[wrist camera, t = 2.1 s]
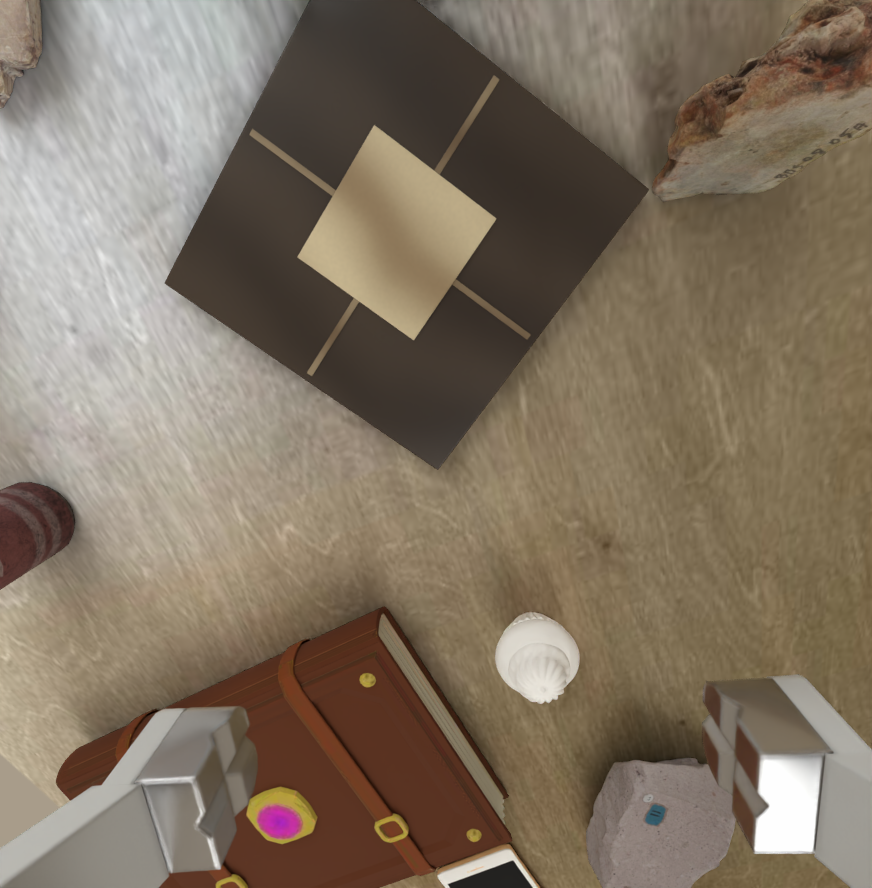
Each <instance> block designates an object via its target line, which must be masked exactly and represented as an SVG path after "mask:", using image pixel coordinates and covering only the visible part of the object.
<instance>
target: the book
mask: <svg viewBox="0 0 872 888" xmlns="http://www.w3.org/2000/svg"><path fill="white" fill-rule="evenodd" d="M228 706H241V707H243V708H245V709H246V711H247V715H248V718H249V722H250V725H249V727H248V730H247V732H246V734H245V736H246V737H247V738H249V739H250V740H251V741H252V742H253V743H254V744H255V747H256V751H257V757H258V772H257V777H256V783H255V788H254V791H253V793H252V796H251V798H250V801H249V803H248V805H247V806H246V807H245V808H244V809H243V810H241V811H240V812H239V813H238V814H237V815H236V816H235V817H234V818H235V822H236V826H237V832H236V834H235V836H234V839H233V841H232V843H231V846H230V848H229V850H228V853H227V855H226V857H225V860H224V862H223V864H222V866H221V869H220V870H207V871H191V872H176V873H169V877H168V878H167V879H166V880H165V881H164V882H163V883H162V884H161V886H160V887H159V888H380V887H382V886H385V885H388V884H391V883H394V882H397V881H400V880H402V879H405V878H408V877H411V876H414V875H419V876H422V875H425V874H428V873H431V872H434V871H435V870H436V868H437V867H440V866H442V865H445V864H448V863H451V862H454V861H457V860H460V859H462V858H465V857H468V856H471V855H474V854H477V853H480V852H482V851H485V850H488V849H491V848H494V847H497V846H500V845H502V844H505V843H508V842H511V841H512V837H511V834H510V832H509V831H508V829H507V828H506V826H505V824H506V822H505V821H504V819H503V818H504V816H505V814H504V813H503V809H504V806H503V805H502V804H503V802H504V800H503V799H506V798H508V796H509V795H508V794H507V792H506V791H505V789H504V788H503V786H502V785H501V783H500V782H499V780H498V778H497V777H496V775H495V774H494V772H493V771H492V769H491V768H490V766H489V765H488V763H487V762H486V760H485V758H484V757H483V755H482V754H481V752H480V751H479V749H478V748H477V746H476V745H475V743H474V742H473V740H472V738H471V737H470V735H469V734H468V732H467V731H466V729H465V728H464V726H463V725H462V723H461V722H460V720H459V718H458V717H457V715H456V714H455V712H454V711H453V709H452V708H451V706H450V705H449V703H448V702H447V700H446V698H445V697H444V695H443V694H442V692H441V691H440V689H439V688H438V686H437V685H436V683H435V682H434V680H433V678H432V677H431V675H430V674H429V672H428V671H427V669H426V668H425V666H424V665H423V663H422V662H421V660H420V658H419V657H418V655H417V654H416V652H415V651H414V649H413V648H412V646H411V645H410V643H409V642H408V640H407V638H406V637H405V635H404V634H403V632H402V631H401V629H400V628H399V626H398V625H397V623H396V622H395V620H394V618H393V617H392V615H391V614H390V612H389V611H388V609H387V608H386V607H382V608H379V609H377V610H375V611H373V612H371V613H369V614H366V615H364V616H362V617H360V618H358V619H356V620H353V621H351V622H349V623H347V624H345V625H343V626H341V627H338V628H336V629H334V630H332V631H330V632H328V633H325V634H323V635H321V636H319V637H317V638H315V639H312V640H309V639H304V640H302V641H300V642H298V643H296V644H294V645H292V646H290V647H288V649H287V650H286V651H285V652H284V653H282V654H280V655H278V656H276V657H274V658H271V659H269V660H267V661H265V662H263V663H261V664H258V665H256V666H254V667H252V668H250V669H248V670H245V671H243V672H241V673H239V674H237V675H235V676H233V677H230V678H228V679H226V680H224V681H222V682H220V683H217V684H215V685H213V686H211V687H209V688H207V689H204V690H202V691H200V692H198V693H196V694H194V695H191V696H189V697H187V698H185V699H183V700H181V701H179V702H176V703H174V704H172V705H170V706H168V707H166V708H163V709H176V708H193V707H228ZM163 709H161V710H163ZM161 710H159V711H161ZM159 711H158V710H157V709H155V710H151V711H149V712H147V713H145V714H143V715H141V716H139V717H137V718H135V719H134V720H133V721H132V722H131V723H130V724H129V725H127V726H125V727H122V728H120V729H118V730H116V731H114V732H112V733H109V734H107V735H105V736H103V737H101V738H99V739H96V740H94V741H92V742H90V743H88V744H86V745H83V746H81V747H79V748H78V749H76V750H75V751H74V752H73V753H72V754H71V755H70V756H69V757H68V758H67V759H66V760H65V762H64V763H63V765H62V766H61V768H60V770H59V772H58V775H57V779H56V784H57V786H58V788H59V789H60V790H61V791H62V792H63V793H64V794H65V795H66V796H67V797H68V799H69V800H70V801H71V800H72V799H74V798H75V797H77V796H78V795H80V794H81V793H83V792H84V791H86V790H87V789H89V788H90V787H92V786H99V785H102V784H103V782H104V781H105V780H106V778H107V777H108V776H109V774H110V773H111V772H112V770H113V769H114V768H115V766H116V765H117V764H118V762H119V761H120V760H121V758H122V757H123V756H124V754H125V753H126V752H127V750H128V749H129V748H130V746H131V745H132V744H133V742H134V741H135V740H136V738H137V737H138V736H139V734H140V733H141V732H142V730H143V729H144V728H145V726H146V725H147V724H148V722H149V721H150V720H151V718H152V717H153V716H154V715H155V713H157V712H159Z"/></svg>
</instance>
